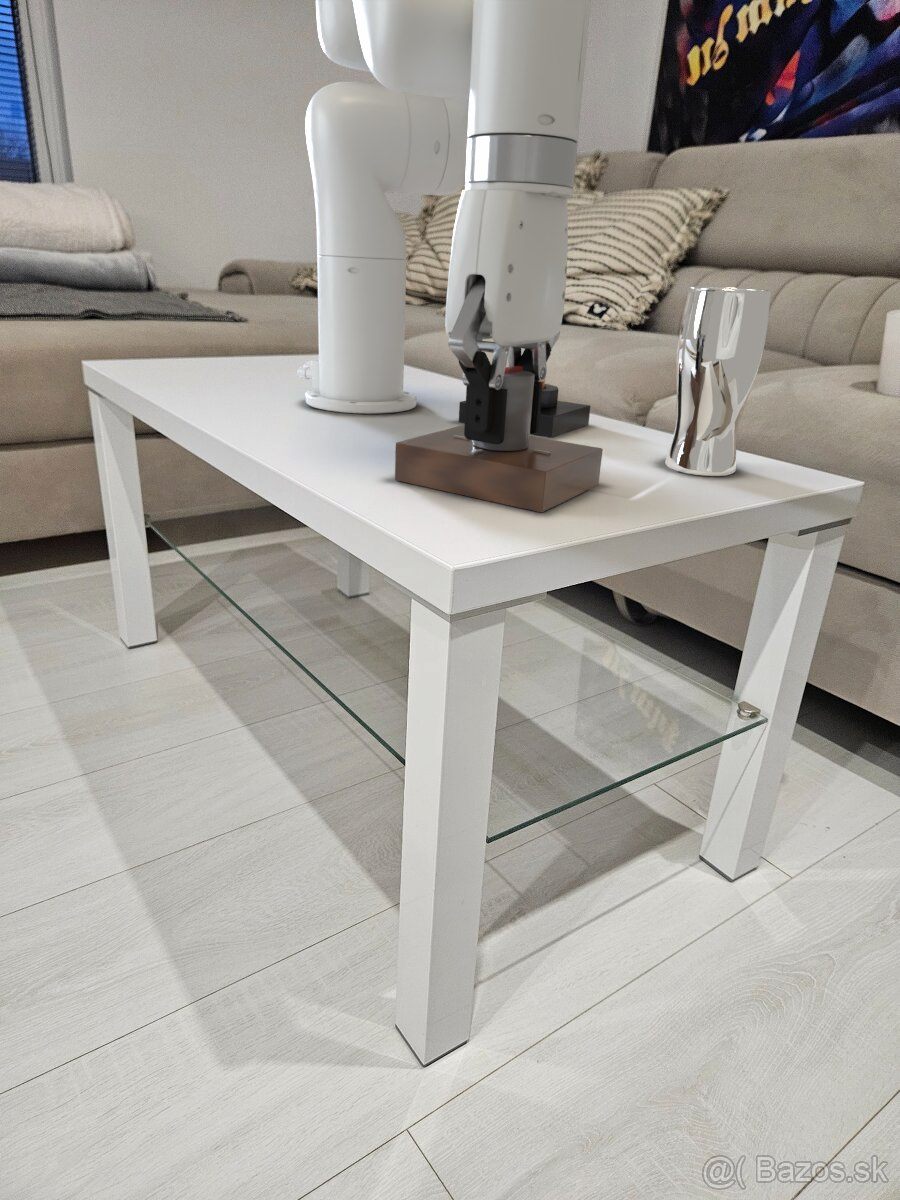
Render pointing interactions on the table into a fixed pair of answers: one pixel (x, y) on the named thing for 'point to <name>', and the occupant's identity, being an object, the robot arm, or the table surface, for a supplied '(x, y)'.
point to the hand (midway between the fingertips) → (502, 433)
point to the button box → (553, 414)
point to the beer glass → (715, 375)
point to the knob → (515, 410)
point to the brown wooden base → (499, 469)
